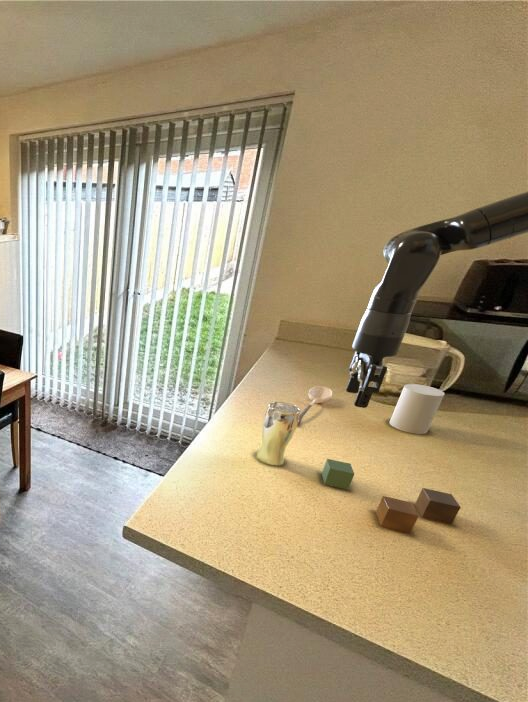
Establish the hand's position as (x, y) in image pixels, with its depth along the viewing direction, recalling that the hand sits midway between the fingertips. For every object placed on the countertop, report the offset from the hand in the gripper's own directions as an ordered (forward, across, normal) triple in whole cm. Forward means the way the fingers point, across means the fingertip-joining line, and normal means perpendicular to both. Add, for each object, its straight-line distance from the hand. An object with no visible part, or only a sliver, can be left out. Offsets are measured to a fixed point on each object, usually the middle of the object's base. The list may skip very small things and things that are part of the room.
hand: (355, 399), depth 90 cm
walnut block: (+19, -11, -16) cm, 27 cm away
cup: (+19, +34, -24) cm, 46 cm away
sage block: (+19, -6, 0) cm, 20 cm away
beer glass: (+19, -2, +13) cm, 23 cm away
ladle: (+19, +35, 0) cm, 40 cm away
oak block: (+19, -17, -8) cm, 27 cm away
